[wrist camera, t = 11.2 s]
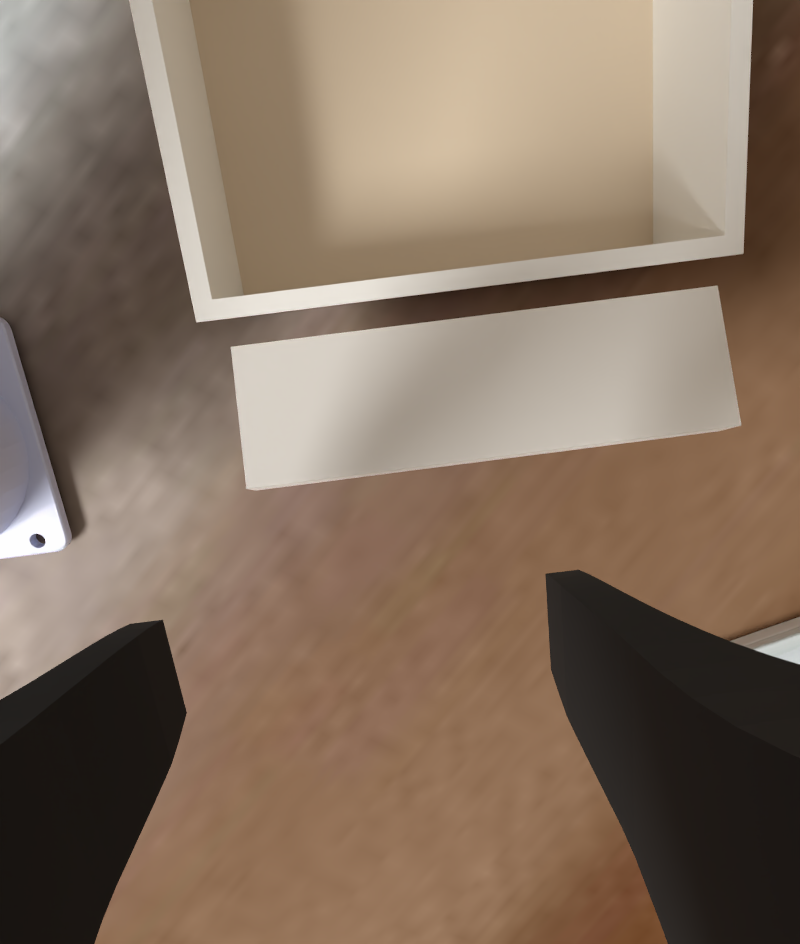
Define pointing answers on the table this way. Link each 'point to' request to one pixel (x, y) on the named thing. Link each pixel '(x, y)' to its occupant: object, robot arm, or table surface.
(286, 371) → the flap
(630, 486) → the table surface
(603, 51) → the carton
